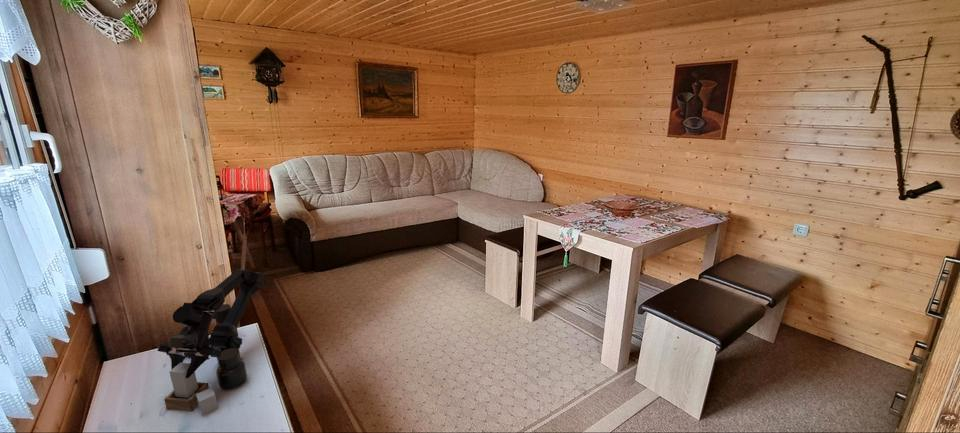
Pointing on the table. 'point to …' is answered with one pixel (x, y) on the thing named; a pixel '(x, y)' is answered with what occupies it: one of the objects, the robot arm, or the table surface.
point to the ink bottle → (231, 369)
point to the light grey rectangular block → (183, 381)
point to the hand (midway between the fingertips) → (179, 377)
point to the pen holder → (206, 343)
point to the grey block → (206, 401)
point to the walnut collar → (184, 404)
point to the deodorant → (222, 313)
